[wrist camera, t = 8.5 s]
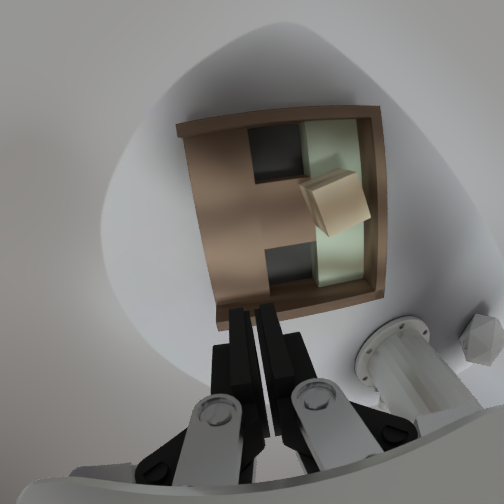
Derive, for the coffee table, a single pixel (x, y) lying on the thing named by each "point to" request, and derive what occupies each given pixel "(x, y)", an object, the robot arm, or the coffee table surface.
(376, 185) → the box
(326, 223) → the maple block
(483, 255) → the coffee table surface
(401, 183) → the coffee table surface
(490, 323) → the die
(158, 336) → the coffee table surface
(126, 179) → the coffee table surface
